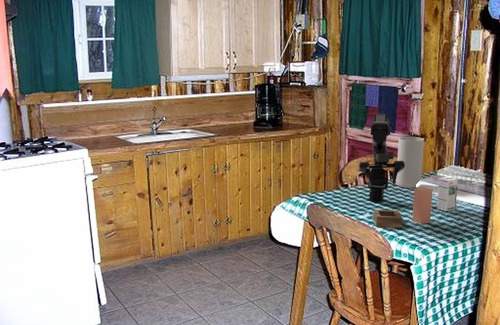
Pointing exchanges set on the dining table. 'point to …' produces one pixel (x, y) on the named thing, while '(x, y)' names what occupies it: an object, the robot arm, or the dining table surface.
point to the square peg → (422, 205)
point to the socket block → (387, 218)
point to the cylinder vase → (410, 161)
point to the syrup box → (447, 193)
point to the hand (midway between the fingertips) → (382, 185)
